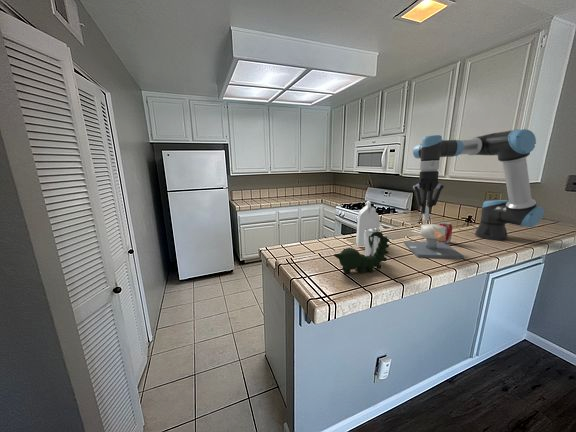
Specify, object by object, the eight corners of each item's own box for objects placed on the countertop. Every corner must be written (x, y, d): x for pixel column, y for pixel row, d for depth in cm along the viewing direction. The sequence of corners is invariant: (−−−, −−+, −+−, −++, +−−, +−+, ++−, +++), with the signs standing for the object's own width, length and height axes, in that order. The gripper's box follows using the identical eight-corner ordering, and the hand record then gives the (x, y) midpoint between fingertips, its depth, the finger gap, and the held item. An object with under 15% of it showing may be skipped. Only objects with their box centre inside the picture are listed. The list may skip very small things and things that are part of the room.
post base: (442, 244, 131) (443, 231, 130) (463, 258, 111) (465, 243, 109) (403, 243, 135) (404, 230, 133) (417, 257, 114) (418, 242, 113)
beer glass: (377, 261, 111) (379, 232, 107) (362, 260, 113) (363, 231, 110) (377, 256, 117) (378, 228, 114) (363, 255, 119) (364, 227, 116)
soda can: (453, 244, 132) (455, 224, 129) (441, 244, 132) (443, 224, 129) (445, 240, 138) (447, 221, 136) (433, 240, 139) (435, 221, 136)
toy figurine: (377, 267, 108) (328, 268, 104) (382, 229, 105) (331, 228, 100) (389, 276, 99) (336, 277, 95) (395, 234, 96) (340, 234, 91)
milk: (356, 240, 143) (357, 200, 137) (375, 241, 140) (377, 200, 135) (357, 247, 131) (359, 203, 126) (378, 248, 129) (381, 203, 124)
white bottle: (418, 232, 128) (419, 223, 127) (440, 233, 124) (441, 224, 123) (428, 244, 108) (429, 234, 107) (455, 246, 105) (456, 235, 103)
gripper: (417, 171, 102) (413, 221, 107) (448, 170, 100) (443, 221, 105) (411, 171, 110) (408, 218, 115) (440, 169, 107) (436, 218, 112)
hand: (425, 219), depth 110 cm, fingers closed
